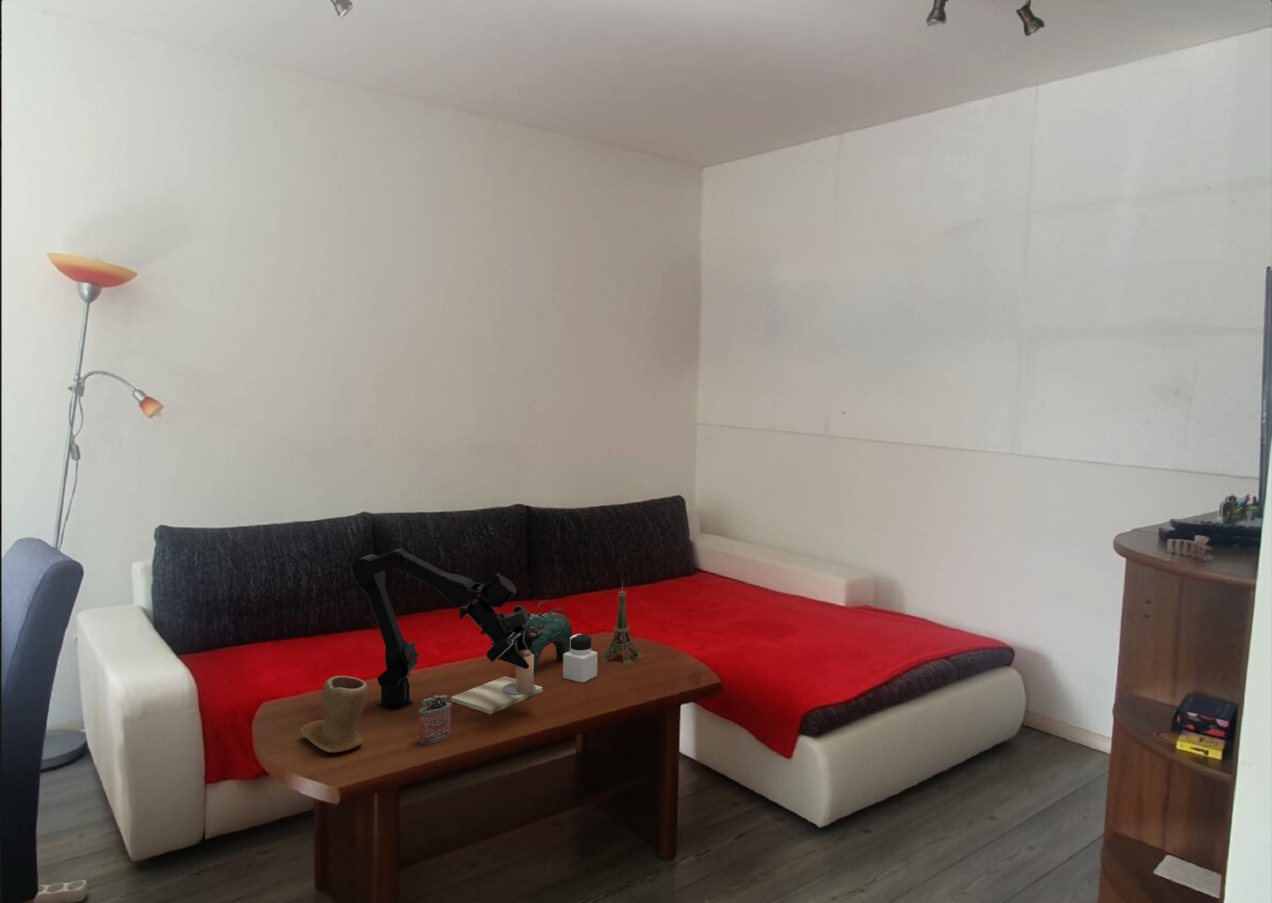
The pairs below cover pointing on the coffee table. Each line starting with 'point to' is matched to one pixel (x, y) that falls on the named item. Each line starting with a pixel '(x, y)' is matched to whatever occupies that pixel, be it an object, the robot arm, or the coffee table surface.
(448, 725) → the lighter
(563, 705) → the coffee table surface
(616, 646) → the eiffel tower
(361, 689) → the stone cup
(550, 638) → the ceramic cat
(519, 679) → the pink cylindrical bottle
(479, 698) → the serving board
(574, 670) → the medicine bottle
